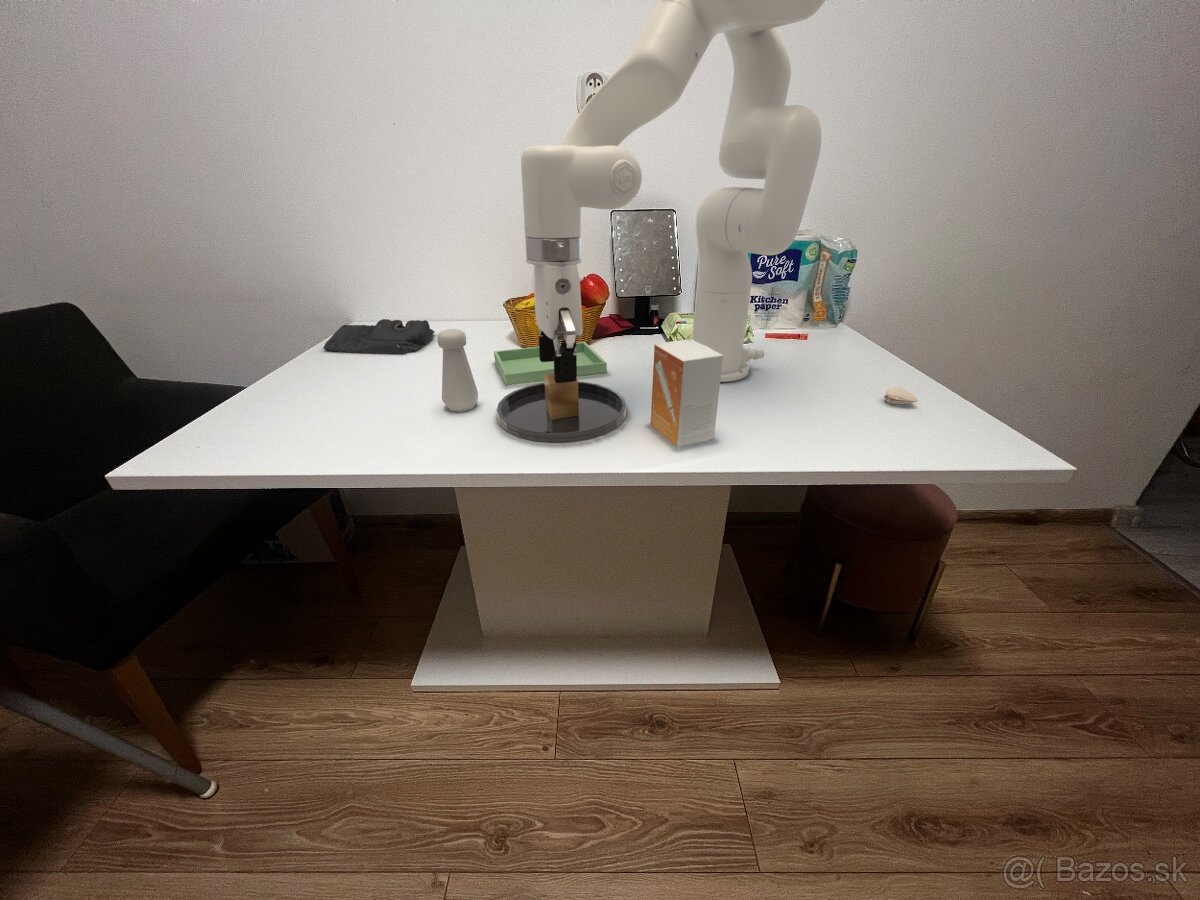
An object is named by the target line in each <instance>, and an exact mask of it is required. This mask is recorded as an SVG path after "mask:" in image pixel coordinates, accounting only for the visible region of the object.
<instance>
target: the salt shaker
mask: <svg viewBox="0 0 1200 900" xmlns="http://www.w3.org/2000/svg"><path fill="white" fill-rule="evenodd" d="M436 337H437V339H436V341H437V345H438V347H439V348H441V349H442V367H441V368H442V369H441V370H442V371H441V372H442V373H441V400H442V402H443V404H444V405H445V406H446V407H447V408H448V410H449V411H450V412H456V413H457V412H458V413H464V412H467V411H470V410H474V408H475V406H476V404H477V402H478V400H479V391H478V388H477V385H476V382H475V379H474V375H473V372H472V369H471V365H470V362H469V360H468V357H467V353H466V351H465V348H464V347H465V346H466V345H467V336H466V332H465V331H463V330H461V329H458V328H449V329H443V330H441V331H440V332H438V334H437V335H436Z"/></svg>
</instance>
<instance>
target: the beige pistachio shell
mask: <svg viewBox="0 0 1200 900" xmlns="http://www.w3.org/2000/svg"><path fill="white" fill-rule="evenodd" d="M884 400H885V401H886V402H888V403H889V404H892V405H907V404H908V405H909V404H913V403H917V402H919V400H918V398H917V397H916V396H915V395H914V394H913V393H912V392H911V391H909V390H907V389H906V388H903V387H900V386H892V387H889V388H887V389H886V390H885V395H884Z"/></svg>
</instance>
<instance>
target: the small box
mask: <svg viewBox="0 0 1200 900" xmlns="http://www.w3.org/2000/svg"><path fill="white" fill-rule="evenodd" d="M653 346H654V348H653V366H652V386H651V387H652V388H651V389H652V390H651V404H650V405H651V408H650V426H652V427H653V428H654V429H656V430H657V431H658V432H659V433H661V434H662V435H663V436H664V437H665V438H666V439H668V440H669V441H670V442H671V443H672V444H673V445H674V446H675V447H683V446H687V445H691V444H696V443H700V442H704V441H705V442H706V441H709V440H714V439H715V431H716V423H717V415H718V414H717V413H718V404H719V395H720V386H721V382H720V379H721V370H722V361H723V355H722V354H720V353H718V352H716V351H714V350H712V349H711V348H709V347H707V346H705V345H702V344H700V343H698V342H696V341H694V340H692V338H689V339H680V340H679V339H678V340H671V341H666V342H660V343H655V344H654V345H653Z"/></svg>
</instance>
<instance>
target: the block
mask: <svg viewBox="0 0 1200 900" xmlns="http://www.w3.org/2000/svg"><path fill="white" fill-rule="evenodd" d="M578 381H579V380H578V379H577V380H576V381H574V382H565V383H556V382H555V380H554V374H547V375H544V381H543V383H544V384H545V399H546V410H547V412H548V414H549V415H550V417H551V419H552V420H553V419H560V418H567V417H574V416H579V400H578Z"/></svg>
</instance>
